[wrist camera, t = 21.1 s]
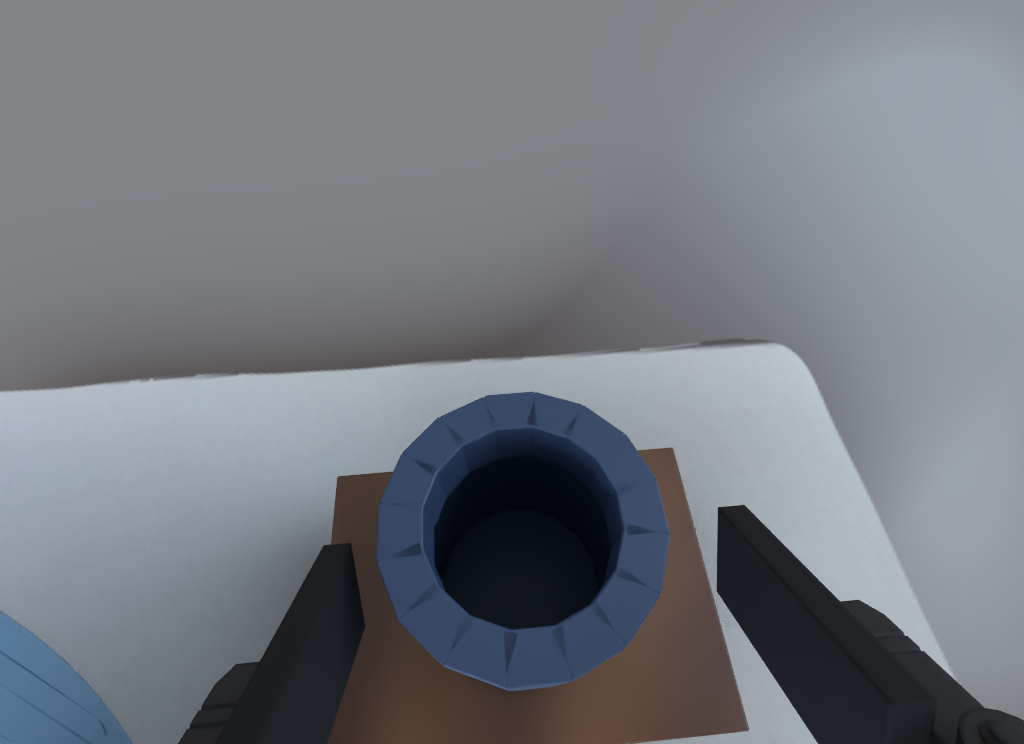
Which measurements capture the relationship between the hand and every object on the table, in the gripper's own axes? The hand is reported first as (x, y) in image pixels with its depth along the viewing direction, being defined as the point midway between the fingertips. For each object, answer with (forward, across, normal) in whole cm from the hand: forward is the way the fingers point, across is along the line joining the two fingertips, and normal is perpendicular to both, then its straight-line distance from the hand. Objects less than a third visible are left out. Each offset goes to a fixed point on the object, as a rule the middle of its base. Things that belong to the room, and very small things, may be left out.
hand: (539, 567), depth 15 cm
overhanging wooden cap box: (+11, -1, -10) cm, 15 cm away
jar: (+7, -1, -6) cm, 9 cm away
